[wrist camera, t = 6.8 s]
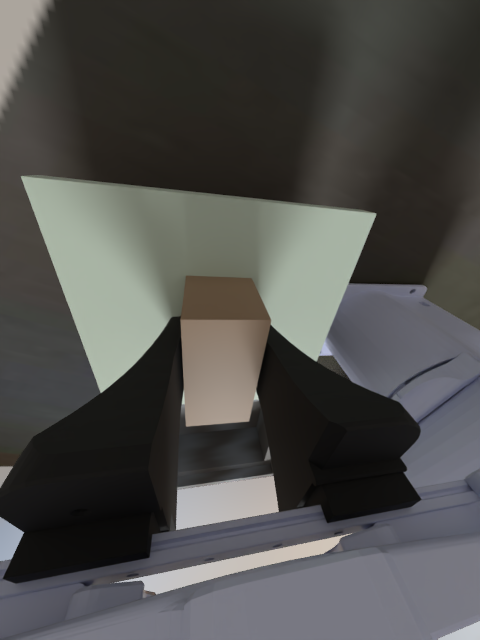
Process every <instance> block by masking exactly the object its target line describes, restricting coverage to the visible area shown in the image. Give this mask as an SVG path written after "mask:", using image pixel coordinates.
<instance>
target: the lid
mask: <svg viewBox="0 0 480 640" xmlns="http://www.w3.org/2000/svg"><path fill="white" fill-rule="evenodd" d="M21 178H22V181H23V183H24V186H25V189H26V192H27V194H28V197H29V200H30V202H31V205H32V208H33V210H34V213H35V216H36V219H37V221H38V224H39V227H40V229H41V232H42V235H43V238H44V240H45V243H46V246H47V248H48V251H49V254H50V256H51V259H52V262H53V265H54V267H55V270H56V273H57V275H58V278H59V281H60V283H61V286H62V289H63V292H64V294H65V297H66V300H67V302H68V305H69V308H70V311H71V313H72V316H73V319H74V321H75V324H76V327H77V329H78V332H79V335H80V338H81V340H82V343H83V346H84V348H85V351H86V354H87V357H88V359H89V362H90V365H91V367H92V370H93V373H94V375H95V378H96V381H97V384H98V386H99V389H100V392H101V393H102V392H103V391H104V390H106V389H107V388H108V387H109V386H111V385H112V384H113V383H114V382H115V381H116V380H118V379H119V378H120V377H121V376H122V375H123V374H125V373H126V372H127V371H128V370H129V369H130V368H131V367H132V366H133V365H134V364H135V363H136V362H137V361H138V360H139V359H140V358H141V357H142V356H143V354H144V353H145V352H146V351H147V350H148V349H149V348H150V346H151V345H152V344H153V343H154V341H155V340H156V339H157V338H158V336H159V335H160V334H161V332H162V331H163V329H164V328H165V326H166V325H167V323H168V322H169V320H170V318H171V317H176V316H181V339H182V359H183V378H184V392H183V399H182V404H185V418H186V427H188V426H200V425H212V424H225V423H237V422H249V419H250V414H251V410H252V405H253V401H254V400H259V398H258V395H257V392H256V387H257V383H258V378H259V374H260V369H261V365H262V360H263V356H264V351H265V347H266V342H267V338H268V333H269V329H270V324H271V325H272V326H273V327H274V328H275V329H276V330H277V331H278V332H279V333H280V334H281V335H282V336H284V337H285V338H286V339H287V340H288V341H289V342H290V343H292V344H293V345H294V346H295V347H297V348H298V349H299V350H301V351H302V352H303V353H305V354H306V355H307V356H309V357H310V358H312V359H313V360H315V361H317V359H318V357H319V354H320V352H321V349H322V347H323V344H324V342H325V339H326V337H327V335H328V332H329V330H330V327H331V325H332V322H333V320H334V317H335V315H336V312H337V310H338V308H339V305H340V303H341V300H342V298H343V295H344V293H345V290H346V288H347V285H348V283H349V281H350V278H351V276H352V273H353V271H354V268H355V266H356V263H357V261H358V258H359V256H360V254H361V251H362V249H363V246H364V244H365V241H366V239H367V236H368V234H369V232H370V229H371V227H372V224H373V222H374V219H375V217H376V214H377V213H373V212H369V211H365V210H359V209H350V208H340V207H331V206H322V205H312V204H303V203H294V202H284V201H275V200H266V199H256V198H247V197H238V196H228V195H219V194H210V193H200V192H191V191H182V190H172V189H163V188H154V187H144V186H135V185H126V184H116V183H107V182H98V181H88V180H79V179H70V178H60V177H51V176H42V175H33V176H21Z"/></svg>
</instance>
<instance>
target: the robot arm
mask: <svg viewBox="0 0 480 640" xmlns="http://www.w3.org/2000/svg"><path fill="white" fill-rule="evenodd" d="M426 291H427V287H426V286H424V285H403V284H351V283H348V285H347V288H346V290H345V293H344V295H343V298H342V300H341V303H340V305H339V308H338V310H337V312H336V315H335V317H334V320H333V322H332V325H331V327H330V330H329V332H328V335H327V337H326V339H325V342H324V344H323V347H322V349H321V352H320V354H319V356H323V355H333V356H334V358H335V359H336V360H337V362H338V363H339V365H340V366H341V367H342V369H343V370H344V372H345V373H346V374H347V376H348V377H349V379H350V380H351V381H352V382H351V381H349V380H347V379H346V378H344V377H342V376H340V375H338V374H336V373H334V372H333V371H331V370H329V369H327V368H326V367H324V366H322V365H321V364H319V363H318V362H316V361H315V360H313V359H312V358H310V357H309V356H307V355H306V354H305V353H303V352H302V351H301V350H299V349H298V348H297V347H295V346H294V345H293V344H292V343H290V342H289V341H288V340H287V339H286V338H285V337H284V336H282V335H281V334H280V333H279V332H278V331H277V330H276V329H275V328H274V327H273V326H272V325H271V324H270V329H269V333H268V338H267V342H266V347H265V351H264V356H263V360H262V365H261V369H260V374H259V378H258V383H257V387H256V392H257V395H258V398H259V402H260V405H261V409H262V414H263V419H264V424H265V429H266V434H267V439H268V445H269V450H270V456H271V462H272V468H273V474H274V481H275V487H276V494H277V501H278V508H279V512H276V513H271V514H266V515H259V516H255V517H248V518H243V519H237V520H231V521H225V522H220V523H215V524H209V525H203V526H197V527H192V528H186V529H181V530H176V506H177V478H178V453H179V430H180V414H181V406H182V399H183V392H184V378H183V359H182V339H181V316H176V317H171V318H170V320H169V322H168V323H167V325H166V326H165V328H164V329H163V331H162V332H161V334H160V335H159V336H158V338H157V339H156V340H155V341H154V343H153V344H152V345H151V346H150V348H149V349H148V350H147V351H146V352H145V353H144V354H143V356H142V357H141V358H140V359H139V360H138V361H137V362H136V363H135V364H134V365H133V366H132V367H131V368H130V369H129V370H128V371H127V372H126V373H125V374H123V375H122V376H121V377H120V378H119V379H118V380H116V381H115V382H114V383H113V384H112V385H111V386H109V387H108V388H107V389H106V390H104V391H103V392H102V393H100V394H99V395H98V396H96V397H95V398H94V399H92V400H91V401H89V402H88V403H86V404H85V405H84V406H82V407H81V408H79V409H78V410H76V411H75V412H73V413H72V414H70V415H68V416H67V417H65V418H64V419H62V420H60V421H59V422H57V423H56V424H54V425H52V426H51V427H49V428H47V429H46V430H44V431H43V432H41V433H39V434H37V435H36V436H34V437H33V438H32V439H31V441H30V442H29V444H28V445H27V447H26V448H25V449H24V451H23V452H22V453H21V455H20V457H19V458H18V460H17V461H16V463H15V465H14V466H13V468H12V470H11V471H10V473H9V475H8V476H7V478H6V479H5V481H4V483H3V485H2V486H1V488H0V517H2V518H3V519H5V520H6V521H8V522H9V523H11V524H12V525H14V526H15V527H17V528H18V529H20V530H22V531H23V532H24V534H23V536H22V538H21V540H20V543H19V545H18V547H17V549H16V551H15V553H14V555H13V558H12V559H11V560H5V561H0V640H438V638H440V637H443V636H445V635H447V634H450V633H452V632H455V631H457V630H459V629H462V628H464V627H466V626H469V625H471V624H474V623H476V622H478V621H480V330H478V329H476V328H475V327H473V326H471V325H469V324H468V323H466V322H464V321H463V320H461V319H459V318H457V317H456V316H454V315H452V314H450V313H449V312H447V311H445V310H444V309H442V308H440V307H438V306H437V305H435V304H433V303H432V302H430V301H428V300H426V299H425V298H423V296H424V294H425V293H426ZM350 533H353V534H351V535H348V536H345V537H342V538H341V539H340V541H339V543H338V544H337V545H336V546H335V547H334V548H332V549H331V550H329V551H327V552H326V553H324V554H321V555H316V556H310V557H305V558H300V559H295V560H290V561H285V562H281V563H277V564H272V565H267V566H263V567H258V568H254V569H250V570H246V571H242V572H238V573H234V574H230V575H226V576H222V577H218V578H214V579H211V580H207V581H203V582H200V583H196V584H192V585H189V586H185V587H182V588H178V589H175V590H171V591H168V592H164V593H161V594H157V595H156V594H155V593H154V592H149V591H145V590H144V583H143V582H142V581H133V582H122V583H115V582H119V581H124V580H129V579H134V578H139V577H143V576H148V575H153V574H158V573H163V572H168V571H172V570H177V569H182V568H187V567H192V566H196V565H201V564H206V563H211V562H216V561H221V560H225V559H230V558H235V557H240V556H244V555H249V554H254V553H259V552H264V551H269V550H273V549H278V548H283V547H288V546H292V545H297V544H303V543H307V542H312V541H316V540H322V539H327V538H331V537H336V536H341V535H346V534H350Z"/></svg>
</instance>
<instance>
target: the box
mask: <svg viewBox="0 0 480 640" xmlns="http://www.w3.org/2000/svg"><path fill="white" fill-rule="evenodd" d="M269 476H274V474H273V468H272V462H271V456H270V450H269V445H268V439H267V434H266V429H265V424H264V419H263V414H262V409H261V405H260V402H259V400H254V401H253V405H252V410H251V414H250V419H249V422H237V423H225V424H212V425H200V426H188V427H186V418H185V404H182V406H181V414H180V430H179V453H178V478H177V490H179V489H185V488H193V487H200V486H207V485H214V484H220V483H226V482H234V481H241V480H248V479H255V478H261V477H269Z"/></svg>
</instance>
